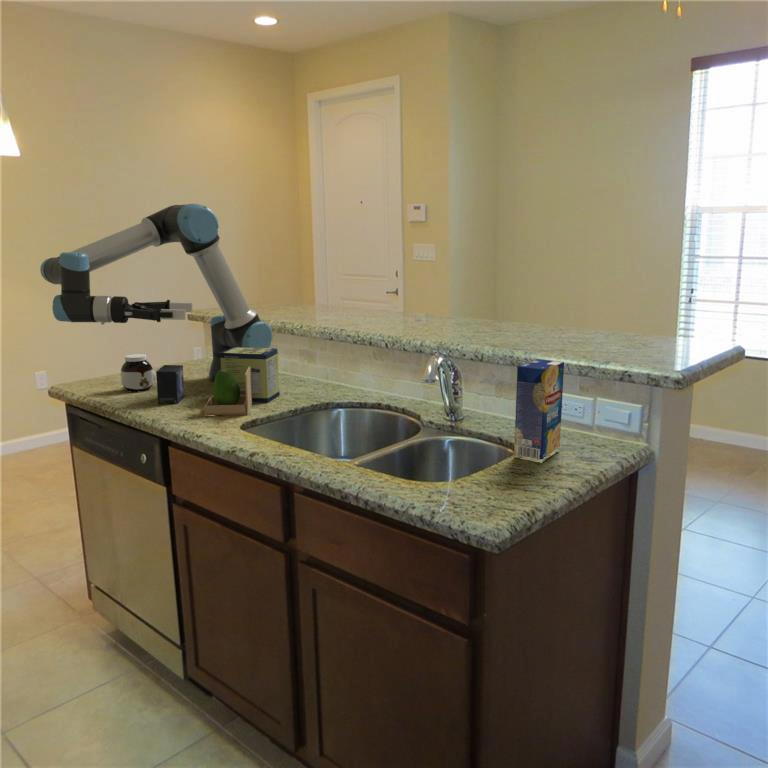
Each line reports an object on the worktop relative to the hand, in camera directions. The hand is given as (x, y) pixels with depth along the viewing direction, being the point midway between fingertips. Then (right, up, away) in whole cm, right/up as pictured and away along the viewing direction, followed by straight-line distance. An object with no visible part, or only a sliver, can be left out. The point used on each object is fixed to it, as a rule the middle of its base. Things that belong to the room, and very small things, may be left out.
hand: (189, 311), depth 203 cm
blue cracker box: (+93, -38, -35) cm, 106 cm away
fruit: (+10, -28, +6) cm, 31 cm away
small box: (-11, -26, +19) cm, 35 cm away
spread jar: (-26, -23, +36) cm, 50 cm away
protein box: (+14, -26, +22) cm, 36 cm away
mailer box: (+10, -29, +6) cm, 31 cm away
